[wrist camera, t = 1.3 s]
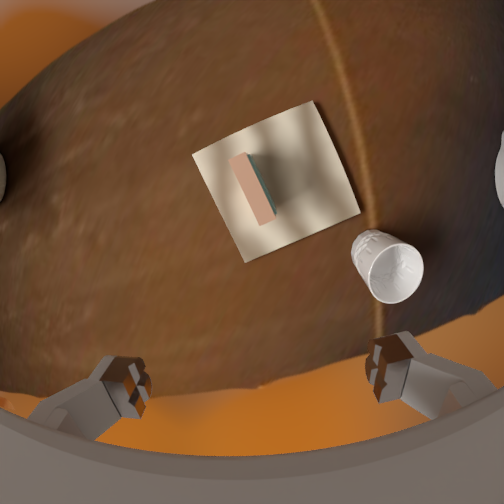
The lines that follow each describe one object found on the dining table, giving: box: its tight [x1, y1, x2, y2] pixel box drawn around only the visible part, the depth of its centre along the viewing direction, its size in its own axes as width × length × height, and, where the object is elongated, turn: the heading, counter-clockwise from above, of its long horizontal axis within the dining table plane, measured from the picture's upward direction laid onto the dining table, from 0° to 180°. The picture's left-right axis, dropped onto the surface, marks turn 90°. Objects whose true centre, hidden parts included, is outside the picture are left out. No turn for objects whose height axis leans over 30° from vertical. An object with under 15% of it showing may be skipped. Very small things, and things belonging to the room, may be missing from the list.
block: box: [228, 152, 277, 226], centre depth 34 cm, size 2×8×8 cm, turn 25°
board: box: [192, 101, 360, 263], centre depth 38 cm, size 18×17×1 cm
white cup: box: [351, 229, 424, 304], centre depth 36 cm, size 8×8×10 cm
